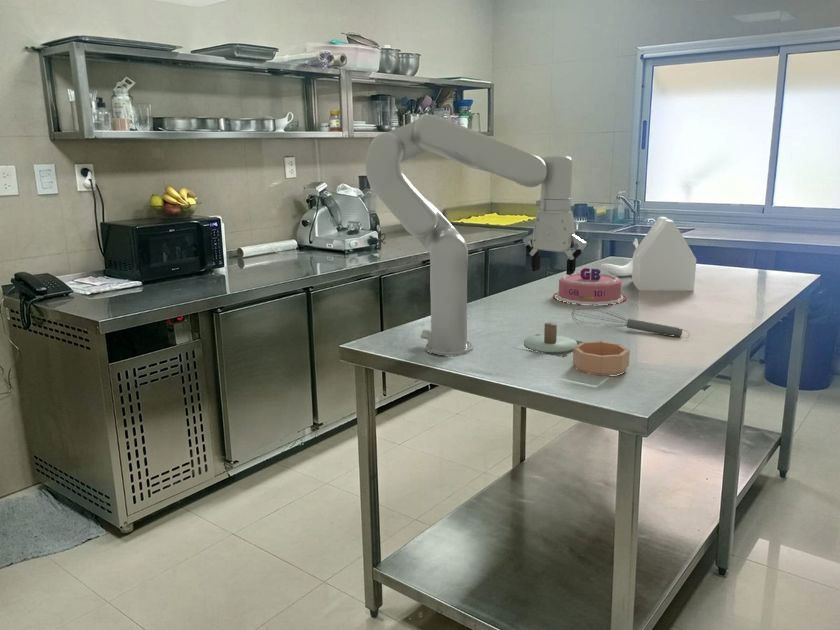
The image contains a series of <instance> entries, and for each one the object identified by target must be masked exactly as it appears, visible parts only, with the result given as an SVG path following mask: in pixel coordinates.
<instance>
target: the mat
mask: <svg viewBox="0 0 840 630" xmlns="http://www.w3.org/2000/svg"><path fill="white" fill-rule="evenodd" d="M538 335H540V334H539V333H538V334H536V335H534V336H538ZM574 340H575V339H574ZM575 341H576V342H577V345H578V344H580V343H581V342H583V340H581V341H580V340H575ZM571 352H572V353H573V350H572V351H568V352H562V353H545V352H543V353H545V354H544V355H549V354H550V355H549V356H554V355H556V356H555V357H560V356H561V355H562V357H561V358H565V357H567V356H568V355H567V354H569V353H570V354H572V353H571ZM543 353H542V354H543ZM570 354H569V355H570Z"/></svg>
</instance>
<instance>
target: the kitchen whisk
mask: <svg viewBox="0 0 840 630" xmlns="http://www.w3.org/2000/svg"><path fill="white" fill-rule="evenodd" d="M580 307H581V308H582V307H583V308H582V310H585V308H587V306H583V305H576V307H574V308H573V309H572V311H571V319H572V320H573V321H575V323H576V324H577V325H579V323H578V322H580V324H581V323H582V324H584V321H582V320H579V319H577V318H576V316H575V315H577V316H581V317H583V315H584V317H586V318H588V316H589V318H590V319H593V316H594V319H596V320H599V318H600V320H602V321H605V317H604V316H600V315H594V314H590V313H586V315H588V316H586V315H585V313H584V312H581V314H583V315H581V314H580V312H577V310H579V308H580ZM590 308H591V309H590ZM597 308H598V309H597ZM588 309H589V310H591V311H593V310H594V312H600V313H603V314H607V315H609V316H613V317H616V318H618V319H620V321H619V320H617V319H613V318H608V317H606V321H608V322H609V321H610V322H611V321H612V322H615V323H617V322H619V323H621V324H614V323H613V324H612V323H606V327H607V329H609V328H611V326H616V328H621V327H626V328H627V329H633V330H638V331H641V332H646V333H647V332H648V333H652V334H653V333H654V334H657V333H658V334H659V335H663V334H666V335H665V336H668V335H674V336H681V337H682V335H683V331H684V332H687V333H688V336H690V332H689V331H687V330H685V329H683V328H680V327H676V326H671V325H665V324H661V323H660V324H659V323H656V322H655V323H653V322H650V321H644V320H638V319H633V318H628V319H627V318H625V317H624V316H623V317H622V316H621V315H619V314H617V313H615V312H614V311H613V312H612V311H611V310H608V309H606V308H603V307H601V306H593V305H591V306H588ZM601 309H602V310H601ZM577 313H578V314H577ZM591 316H592V317H591ZM597 317H598V318H597ZM576 321H578V322H576ZM585 323H586V324H590V322H589V321H588V322H587V321H585ZM592 324H595V325H596V324H597V325H599V323H598V322H597V323H595V322H592Z"/></svg>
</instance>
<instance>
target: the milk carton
mask: <svg viewBox="0 0 840 630" xmlns="http://www.w3.org/2000/svg"><path fill="white" fill-rule="evenodd" d="M632 258H633V269H632V274H631V283H632V282H633V283H632V284H633V285H634V286H635V288H636V289H637V290H638V291H687V290H688V291H693V292H694V291H695V281H696V270H697V258H696V256H695V255H694V252H693V251H692V249H691V247H690V246H689V244H688V242H687V241H686V239H685V238H684V235H683V234H682V233H681V231H680V229H679V227H678V226H677V224H676V223H675V221H674V220H672V219H670V218H667V217H666V216H659V217H658V218H657V219H656V220H655V222H654V224H652V226H651V227H650V229H649V230H648V231H647V233H646V235H645V236H644V237H643V239H642V240H641V241H640V242H639V243H638V247H637V248H636V247H635V250H634V251H633V254H632ZM688 291H687V292H688Z"/></svg>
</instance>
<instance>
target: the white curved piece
mask: <svg viewBox="0 0 840 630" xmlns="http://www.w3.org/2000/svg"><path fill="white" fill-rule="evenodd" d="M632 245H634V247H635V249H636V248H637V247H638V245H639V241H638V239H637V238H634V240H633V242H632ZM600 267H601V269H603V271H605V272H606V273H607V274H609V275H613V276H616V277H627V276H630V275H631V276H632V269H633V257H632V258H631V260H630V261H629V262H628V263H627V264H625V265H618V264H617V265H616V264H612V263H601V265H600Z"/></svg>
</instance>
